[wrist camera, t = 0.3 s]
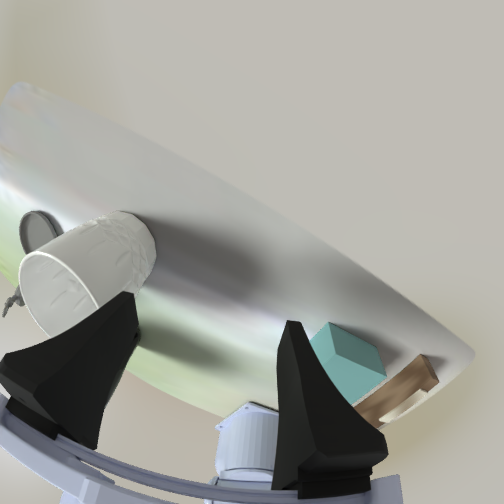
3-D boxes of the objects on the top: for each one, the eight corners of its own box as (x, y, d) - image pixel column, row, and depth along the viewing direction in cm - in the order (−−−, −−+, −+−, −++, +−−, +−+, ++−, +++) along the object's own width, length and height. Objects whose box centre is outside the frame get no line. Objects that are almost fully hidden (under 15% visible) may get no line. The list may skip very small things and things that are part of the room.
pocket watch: (23, 203, 22) (-42, 238, 12) (73, 221, 22) (1, 268, 13) (28, 266, 25) (-24, 309, 16) (76, 289, 25) (23, 346, 16)
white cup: (98, 190, 21) (16, 230, 12) (175, 227, 22) (114, 292, 12) (85, 262, 24) (23, 319, 15) (151, 297, 25) (103, 373, 16)
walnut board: (330, 430, 33) (333, 454, 29) (321, 428, 33) (323, 452, 29) (427, 358, 26) (440, 383, 22) (420, 354, 26) (433, 380, 22)
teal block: (338, 378, 28) (344, 409, 24) (290, 358, 27) (291, 391, 23) (375, 346, 26) (387, 376, 21) (327, 320, 24) (335, 353, 20)
